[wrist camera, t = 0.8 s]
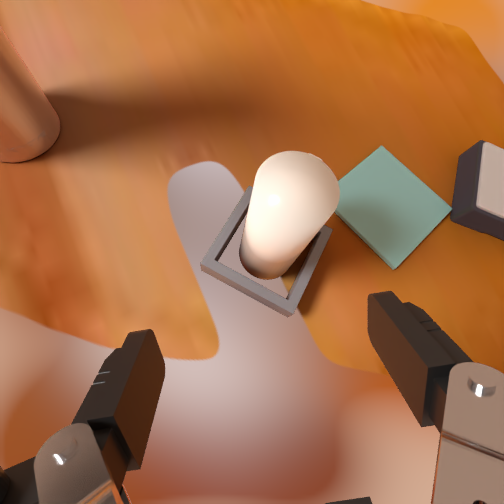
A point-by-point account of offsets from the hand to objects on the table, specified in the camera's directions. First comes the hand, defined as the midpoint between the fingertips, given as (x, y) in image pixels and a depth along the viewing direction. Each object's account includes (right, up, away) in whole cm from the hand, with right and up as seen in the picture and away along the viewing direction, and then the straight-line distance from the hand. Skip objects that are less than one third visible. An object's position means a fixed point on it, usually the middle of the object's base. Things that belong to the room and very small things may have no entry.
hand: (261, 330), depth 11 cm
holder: (+1, +3, +23) cm, 23 cm away
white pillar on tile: (+2, +4, +23) cm, 24 cm away
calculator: (+33, +9, +29) cm, 45 cm away
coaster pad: (+16, +9, +27) cm, 33 cm away
